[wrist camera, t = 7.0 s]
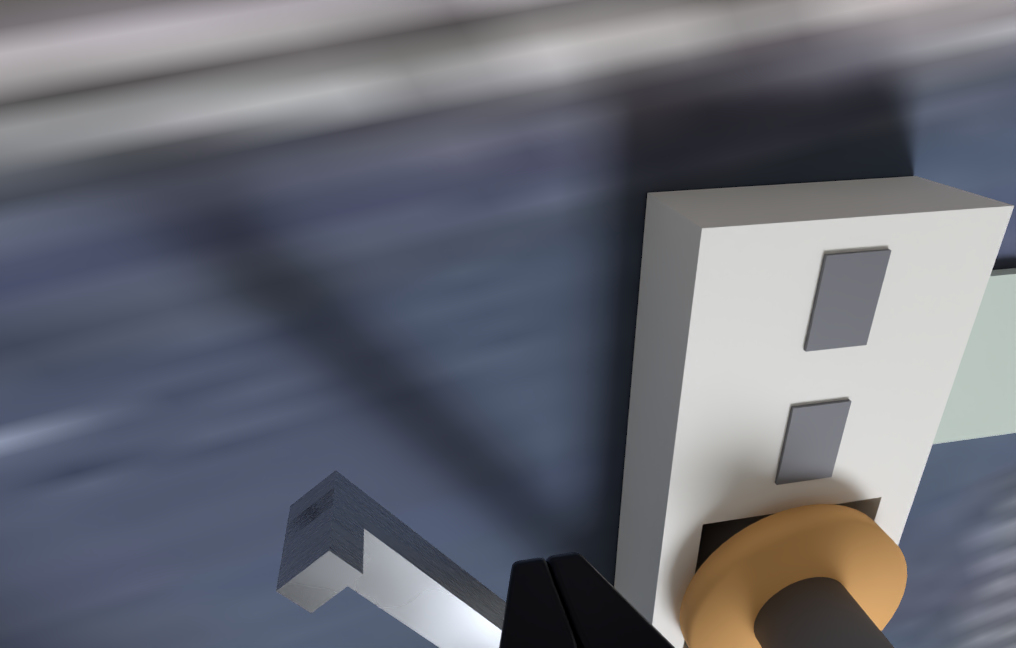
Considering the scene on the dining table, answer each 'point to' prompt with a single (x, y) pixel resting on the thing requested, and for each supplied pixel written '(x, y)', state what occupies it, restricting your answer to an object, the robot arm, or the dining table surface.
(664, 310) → the power strip
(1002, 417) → the mat
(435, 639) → the clip
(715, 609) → the plug
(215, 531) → the dining table surface
